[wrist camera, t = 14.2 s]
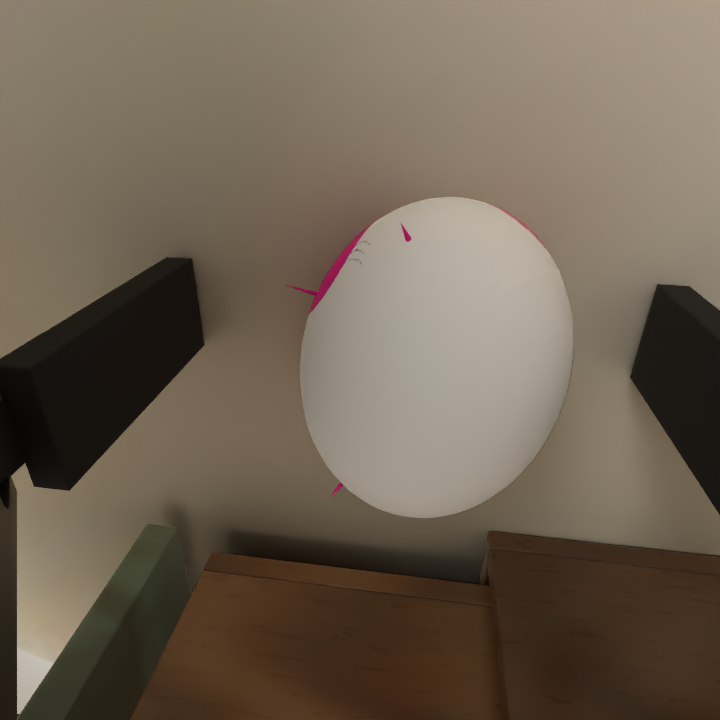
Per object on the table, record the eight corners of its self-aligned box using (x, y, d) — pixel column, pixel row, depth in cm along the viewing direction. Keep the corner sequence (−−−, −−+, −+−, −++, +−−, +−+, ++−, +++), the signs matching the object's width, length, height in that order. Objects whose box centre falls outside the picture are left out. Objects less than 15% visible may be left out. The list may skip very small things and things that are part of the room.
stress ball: (405, 155, 16) (217, 128, 11) (680, 246, 12) (577, 269, 7) (350, 368, 19) (188, 421, 14) (547, 498, 15) (414, 636, 10)
